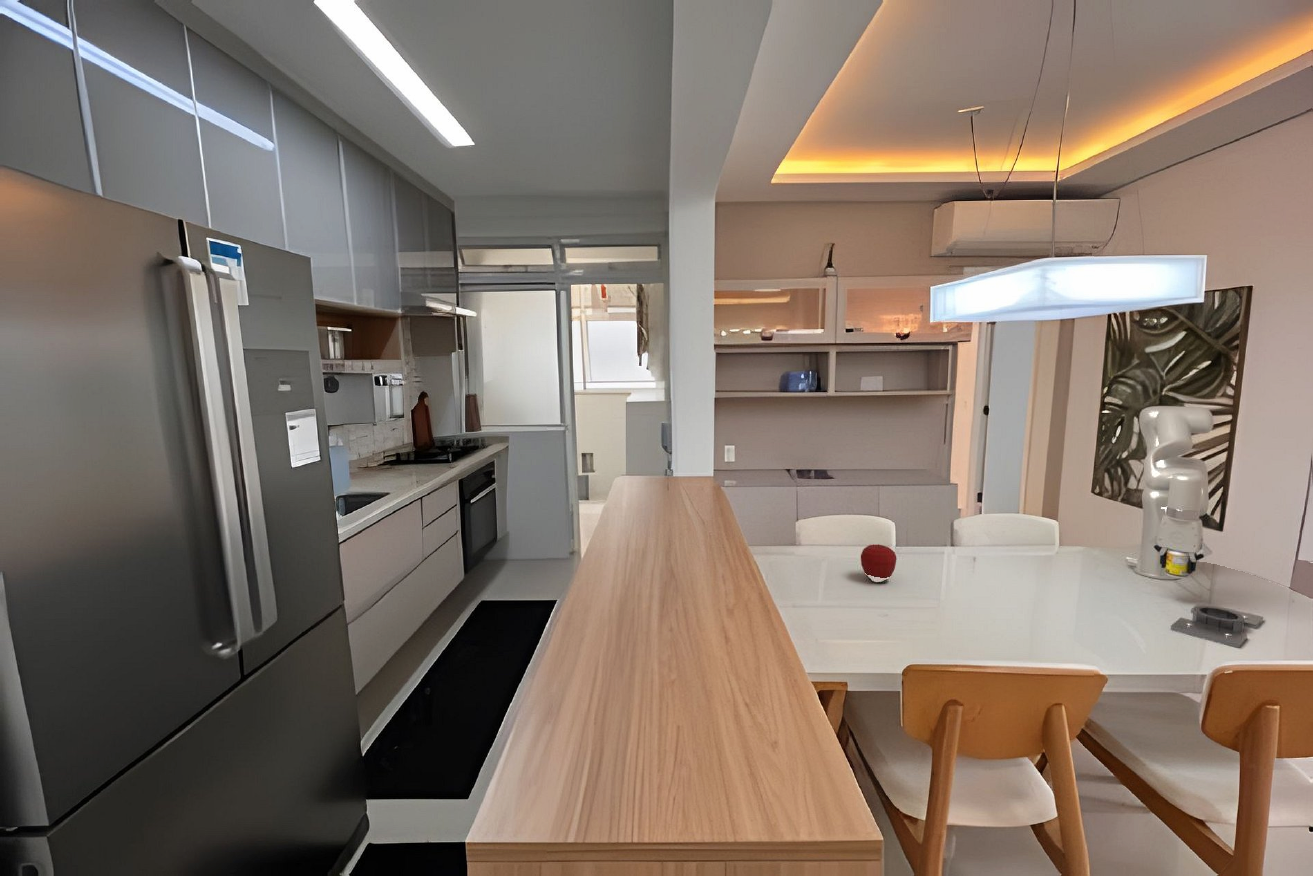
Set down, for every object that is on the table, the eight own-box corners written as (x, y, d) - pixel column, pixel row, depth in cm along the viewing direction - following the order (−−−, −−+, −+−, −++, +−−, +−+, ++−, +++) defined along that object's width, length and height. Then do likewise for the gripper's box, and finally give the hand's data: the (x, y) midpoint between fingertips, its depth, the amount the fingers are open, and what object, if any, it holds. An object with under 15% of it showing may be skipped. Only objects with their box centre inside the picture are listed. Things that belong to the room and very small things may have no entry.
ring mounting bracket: (1238, 648, 158) (1239, 635, 157) (1170, 629, 169) (1171, 617, 169) (1262, 620, 174) (1264, 609, 173) (1199, 605, 185) (1200, 594, 185)
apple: (901, 586, 204) (902, 548, 203) (866, 587, 205) (867, 549, 203) (888, 574, 216) (889, 538, 215) (855, 574, 217) (856, 538, 215)
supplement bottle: (1166, 571, 191) (1169, 540, 189) (1189, 575, 187) (1192, 543, 185) (1163, 576, 187) (1166, 544, 185) (1186, 580, 183) (1190, 548, 181)
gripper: (1143, 510, 188) (1138, 565, 191) (1216, 522, 175) (1210, 581, 177) (1151, 505, 193) (1146, 559, 196) (1223, 517, 179) (1217, 574, 182)
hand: (1177, 569), depth 187 cm, fingers closed on supplement bottle, 5 cm apart
